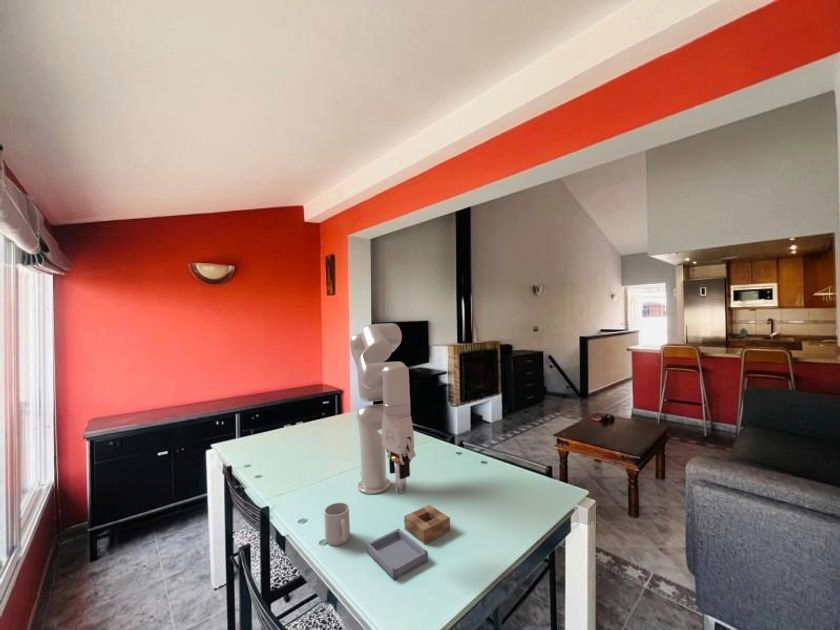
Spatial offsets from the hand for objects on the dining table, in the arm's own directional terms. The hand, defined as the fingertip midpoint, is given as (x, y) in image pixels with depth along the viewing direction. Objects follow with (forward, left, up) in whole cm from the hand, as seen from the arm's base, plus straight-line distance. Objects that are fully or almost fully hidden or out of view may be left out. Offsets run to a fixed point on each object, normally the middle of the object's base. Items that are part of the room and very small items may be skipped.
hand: (399, 474), depth 100 cm
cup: (-17, -11, -22) cm, 30 cm away
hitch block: (-4, +12, -22) cm, 25 cm away
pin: (0, 0, -5) cm, 5 cm away
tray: (0, -2, -22) cm, 22 cm away
